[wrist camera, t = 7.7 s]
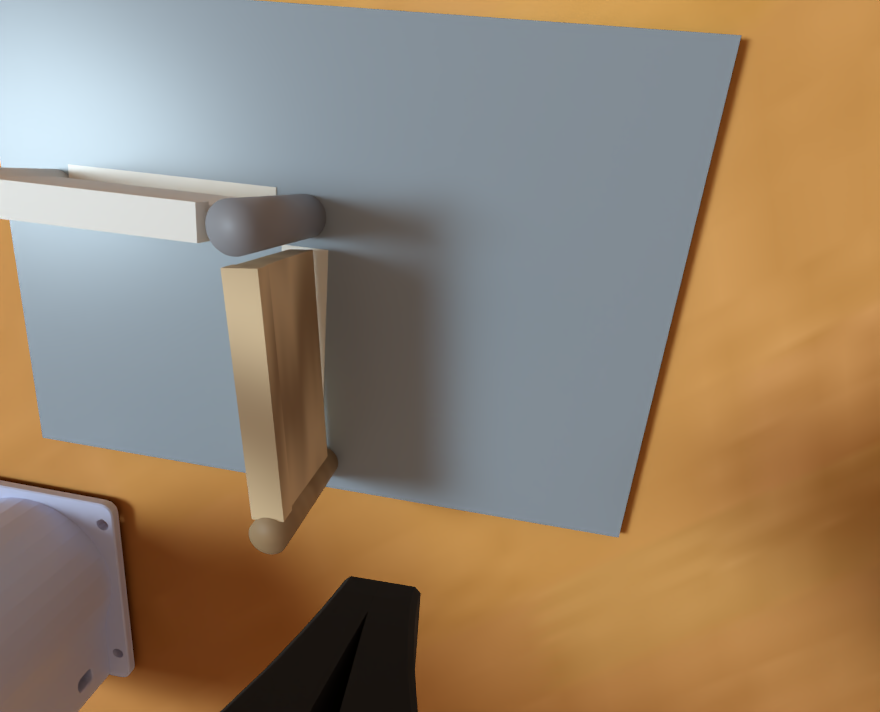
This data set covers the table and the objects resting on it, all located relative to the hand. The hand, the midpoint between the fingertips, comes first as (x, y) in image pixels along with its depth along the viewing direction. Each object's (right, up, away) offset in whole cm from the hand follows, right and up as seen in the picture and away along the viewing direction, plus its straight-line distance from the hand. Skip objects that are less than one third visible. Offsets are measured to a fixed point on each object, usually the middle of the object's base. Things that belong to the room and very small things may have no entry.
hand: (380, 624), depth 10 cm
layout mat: (-3, +8, +8) cm, 12 cm away
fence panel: (-3, +4, +9) cm, 11 cm away
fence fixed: (-8, +10, +8) cm, 15 cm away
